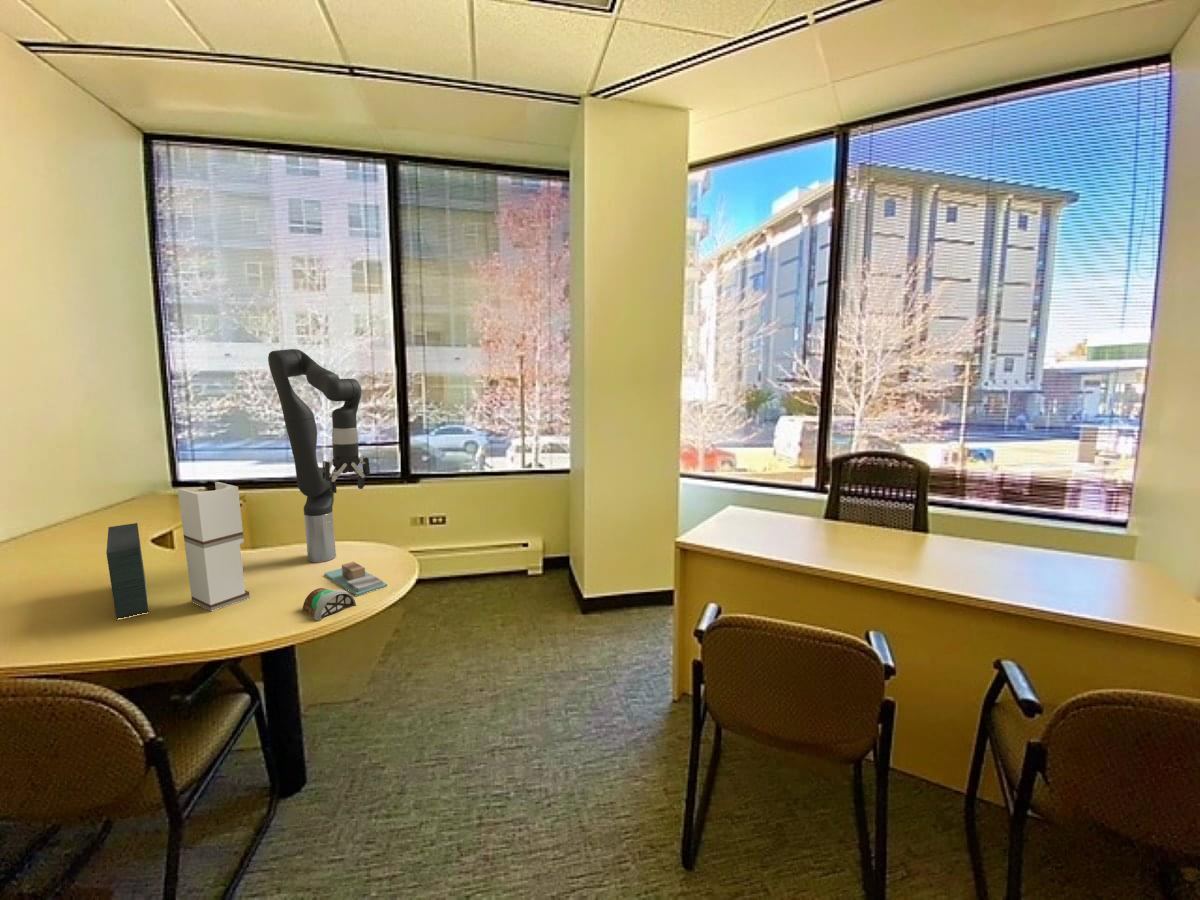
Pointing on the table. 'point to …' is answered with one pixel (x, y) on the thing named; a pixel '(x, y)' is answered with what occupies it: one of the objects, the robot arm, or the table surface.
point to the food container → (326, 602)
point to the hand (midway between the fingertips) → (347, 490)
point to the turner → (359, 577)
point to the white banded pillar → (213, 545)
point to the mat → (342, 581)
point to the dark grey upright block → (126, 570)
